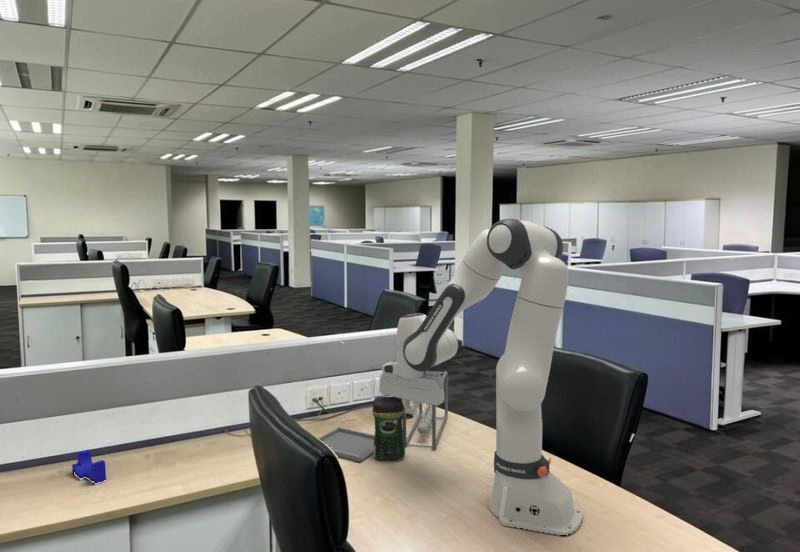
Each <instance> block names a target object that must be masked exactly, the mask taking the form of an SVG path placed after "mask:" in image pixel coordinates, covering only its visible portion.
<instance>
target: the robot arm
mask: <svg viewBox="0 0 800 552" xmlns="http://www.w3.org/2000/svg"><path fill="white" fill-rule="evenodd" d="M563 252H564V242H563V239H562V237H561V236H560V234H558V232H556V230H554V229H552V228H550V227H547V226H543V225H540V224H537V223H535V222H534V221H528V220H522V219H521V220H519V219H516V218H504V219H500V220H498V221H496V222H495V223H493V224H492V225H491V227H489V228H486V229H484V230H482V231H481V232H480V233H479V234H478V235H477V237H476V238H475V240H473V242H472V244H471V245H470V246H469V248H468V249H467V251H466V252H465V254H464V255H463V258H462V260H461V261H460V263H459V265H458V267H457V268H456V270H455V272H454V274H453V275H452V277H451V279H450V280H449V282H448V284H447V285H446V286H445V288H444V289H443V291H442V293H441V294H440V295H439V296H438V298H437V299H436V301H435V302H434V304H433V306H432V308H431V309H430V311H429V312H428V314H427V315H426V314H424V313H422V312H414V313H409V314H405V315H403V316H401V317H400V318H399V321H398V324H397V328H396V329H397V330H396V345H397V354H396V360H393V361H388V362H387V363H384V364H382V365H381V372H382V373H381V374H380V377H379V392H380V394H381V395H384V396H386V397H397V398H402V403H403V405H404V407H405V413H406V415H410V416H416V415H417V414H418V411H417V410H418V409H419V407H418V406H419V405H420V403H422V404H423V403H424V404H425V405H426V404H428V405H430V406H432V405H436V407H437V406H440V405H441V404H442V403H443V402H445V387H444V386H445V379H444V378H443V377H442V376H443V375H442V374H439V373H437V372H438V371H432V370H431V371H430V369H431V368H433V367H434V366H437V365H439V364H442V363H444V362H446V361H448V360H450V359H452V358H453V357H455V355H457V352H458V350H459V340H458V338H457V335H456V334H455V332H454V331H453V330H452V329H450V326H451V324H452V323H453V321H454V319H456V317H458V315H459V314H460V313H462V312H463V311H464V310H467V309H468V308H470V307H471V306H473V305H475V304H477V303H479V302H481V301H482V300H484V299H486V297H487V296H488V295H490V293H491V292H492V291H493V290H494V288H495V287H496V286H497V284H498V282H499V281H500V279H501V277H502V276H503V274H504V272H505V270H506V268H507V267H508V268H509V269H510V270H512V271H513V270H519V274H520V275H521V277H520V285H519V288H518V292H517V296H516V300H515V304H514V306H513V307H514V308H513V311H512V316H511V318H510V322H509V323H510V324H509V326H508V332H507V338H506V343H505V344H506V345H505V347H504V348H505V349H504V353H503V354H502V355H501V356H500V358H499V359H498V362H497V364H496V367H495V368H496V369H495V372H496V373H495V383H496V384H495V386H496V387H495V390H496V391H495V393H496V394H495V400H496V402H495V403H496V407H495V408H496V409H495V410H496V417H495V418H496V428H495V429H496V430H495V431H496V432H495V433H496V435H495V436H496V439H495V441H496V444H495V445H496V446H495V450H494V453H493V454H494V456H493V472H494V479H493V480H494V481H493V487H492V492H491V497H490V500H489V503H488V508H489V511H490V512H491V513H492V514H493V515H494V516H496V517H497V519H498V521H499V523H500V524H501V525H502V526H505V527H510V528H514V527H516V528H515V529H520V528H523V529H522V530H526V529H528V530H527V531H532V530H533V532H537V531H538V532H537V533H543V532H544V534H549V533H550V534H549V535H554V534H556V535H555V536H560V535H567V536H569V535H568V534H570V535H572V534H574V533H575V532H577V530H578V529H579V528H580V527H579V526H581V525H582V523H581V522H583V520H584V519H583V518H584V516H583V510H582V509H581V507H580V506H578V505H576V504H574V499H573V495H572V492H571V490H570V488H569V487H568V486H567V485H566V484H565V483H563V482H562V481H561V480H560V479H559V478H558V477H557V476H556V475H555V474H554V473H552V471H550V464H551V461H552V458H551V457H549V458H548V460H547V458H545V456H544V454H543V451H542V450H543V418H542V417H543V415H542V414H543V413H542V403H543V401H544V399H545V396H546V392H547V391H546V390H547V386H548V382H549V376H550V371H551V365H552V359H553V353H554V346H555V342H556V341H555V340H556V335H557V332H558V328H559V325H560V320H561V317H562V314H563V310H564V306H565V301H566V299H567V298H566V297H567V293H568V292H567V291H568V286H569V285H568V283H569V267H568V266H567V264H566V263H565V262H564V261H563V260H561V257H562V255H563ZM409 401H412V404H413V406H411V404H410V403H409ZM574 531H575V532H574ZM573 532H574V533H573ZM571 533H572V534H571Z"/></svg>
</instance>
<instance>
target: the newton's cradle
mask: <svg viewBox="0 0 800 552" xmlns="http://www.w3.org/2000/svg"><path fill="white" fill-rule="evenodd" d="M436 372H437V373H439V374H440V375H441V376H442V377H443V378H444V415H443V416H444V417H438V416H437V406H436V405H431V404H426V403H420V405H419V406H418V416H417V418H416V419H415V422H414V423H413V426H412V427H411V430H410V432H409V433H408V436H407V414H406V413H405V407H404V414H403V417H402V428H403V437H404V445H405V448H406V447H407V446H412V447H422V448H423V447H425V448H432V449H433V450H436V449H437V448H438V445H439V442H440V440H441V437H442V433H443V431H444V428H445V426H446V424H447V420H448V418H449V417H448V416H449V415H448V414H449V373H448V371H446V370H445V371H444V372H443V371H436ZM423 405H426V408H425V406H423ZM423 408H424V411H423ZM437 419H440V420H441V419H442V423H441V425H440V428H439V429H438V433H437V427H436V426H437ZM431 425H432V426H431ZM416 428H417V429H416ZM430 428H432V429H431V439H432V440H431V441H432V443H431V445H425V444H424V445H423V444H415V443H414V444H412V443H411V444H410V441H411V439H412V437H413V435H414V433H415V431H416V430H417V432H418V434H420V435H422V436H424V435H426V434H427V433H428V432H429V429H430Z"/></svg>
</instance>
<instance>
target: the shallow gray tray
mask: <svg viewBox="0 0 800 552" xmlns="http://www.w3.org/2000/svg"><path fill="white" fill-rule="evenodd" d="M374 435H375V434H372V433H368V432H363V431H359V430H354V429H349V428H346V427H341V426H338V427H336V428H334V429H332V430H330V431H329V432H327V433H324V434H323V435H321V436H319V437H318V439H320V440H321V441H323V442H324V443H325V444H327V445H328V446H329V447H330V448H331V447H332V448H331V449H332V450H333V451H334V452H335V454H336V455H337V456H338V457H337V458H339V459H343V460H346V461H351V462H354V463H359V464H361V463H363V462H364V461H366V460H367V459H369V458H370V457H372V456H374V453H373V449H374Z"/></svg>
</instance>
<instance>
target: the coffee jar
mask: <svg viewBox="0 0 800 552" xmlns="http://www.w3.org/2000/svg"><path fill="white" fill-rule="evenodd" d="M372 405H373V406H372V416H373V418H374V434H373V435H374V449H373V453H374V454H373V458H375V460H377V461H381V462H383V461H384V462H385V461H387V462H388V461H389V462H390V461H400V460H402V459H404V457H405V455H406V449H405V448H406V447H405V445H404V437H403V414H404V405H403V403H402V398H397V397H392V396H375V398H373V404H372Z"/></svg>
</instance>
